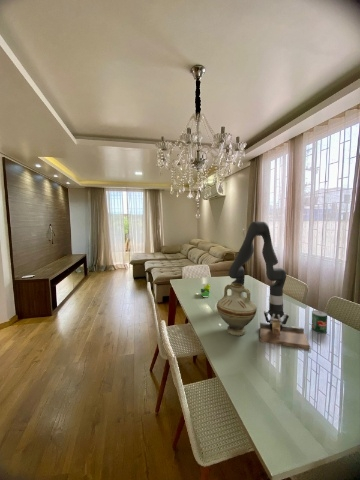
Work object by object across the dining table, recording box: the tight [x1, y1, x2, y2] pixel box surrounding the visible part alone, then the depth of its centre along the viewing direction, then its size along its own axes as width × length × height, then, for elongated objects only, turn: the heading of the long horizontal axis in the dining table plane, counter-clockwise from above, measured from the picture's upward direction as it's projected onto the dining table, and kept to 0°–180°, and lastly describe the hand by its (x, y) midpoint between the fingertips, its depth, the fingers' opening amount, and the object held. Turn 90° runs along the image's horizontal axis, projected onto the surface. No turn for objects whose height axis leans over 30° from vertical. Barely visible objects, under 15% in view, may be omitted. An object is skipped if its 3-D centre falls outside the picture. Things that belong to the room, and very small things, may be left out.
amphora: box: [216, 283, 258, 337], centre depth 129 cm, size 24×24×30 cm
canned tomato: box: [311, 310, 328, 335], centre depth 128 cm, size 8×8×11 cm
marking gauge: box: [272, 319, 280, 338], centre depth 122 cm, size 4×12×7 cm, turn 160°
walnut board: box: [259, 322, 311, 350], centre depth 122 cm, size 24×16×4 cm, turn 70°
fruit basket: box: [200, 283, 211, 297], centre depth 193 cm, size 11×9×11 cm
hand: (275, 329), depth 125 cm, fingers closed on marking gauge, 4 cm apart
